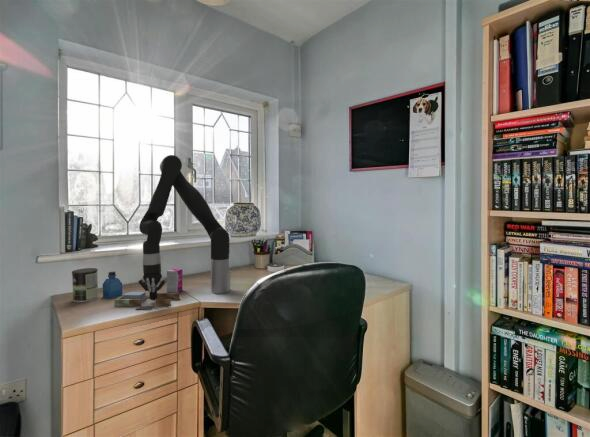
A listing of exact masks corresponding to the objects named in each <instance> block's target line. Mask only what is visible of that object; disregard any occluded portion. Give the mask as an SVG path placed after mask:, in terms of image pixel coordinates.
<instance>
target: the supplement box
mask: <svg viewBox="0 0 590 437" xmlns="http://www.w3.org/2000/svg"><path fill="white" fill-rule="evenodd" d="M166 279H167V281H166V293H180V292H181V291H183V269H181V268H172V269H168V270H166Z"/></svg>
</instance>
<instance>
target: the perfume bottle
mask: <svg viewBox="0 0 590 437" xmlns="http://www.w3.org/2000/svg"><path fill="white" fill-rule="evenodd" d="M107 273H108V274H107V277H108V278H105V280H104V281H103V283H102V297H103V298H106V299H110V300H111V299H113V298H114V299H115V298H119V297H121V296H123V283H122V281H121V280H120V278H118V277H117V274H116V271H109V272H107Z"/></svg>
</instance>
